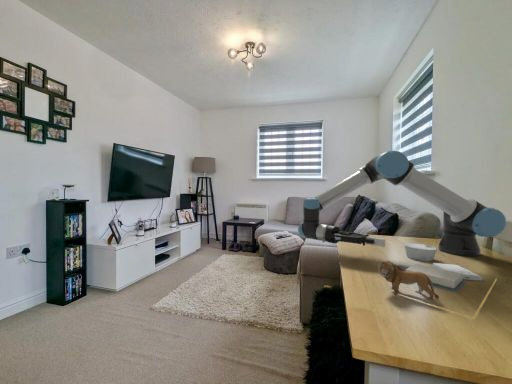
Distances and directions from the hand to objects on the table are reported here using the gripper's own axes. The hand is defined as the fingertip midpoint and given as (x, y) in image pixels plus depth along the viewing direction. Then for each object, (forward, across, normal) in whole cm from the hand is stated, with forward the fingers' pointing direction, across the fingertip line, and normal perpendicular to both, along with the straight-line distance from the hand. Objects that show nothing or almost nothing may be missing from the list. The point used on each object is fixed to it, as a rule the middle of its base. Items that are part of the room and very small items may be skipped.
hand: (384, 242), depth 88 cm
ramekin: (+4, -26, -10) cm, 28 cm away
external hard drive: (+18, -13, -10) cm, 24 cm away
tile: (+9, 0, -8) cm, 12 cm away
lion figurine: (+13, +18, -10) cm, 24 cm away
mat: (+12, 0, -10) cm, 16 cm away
